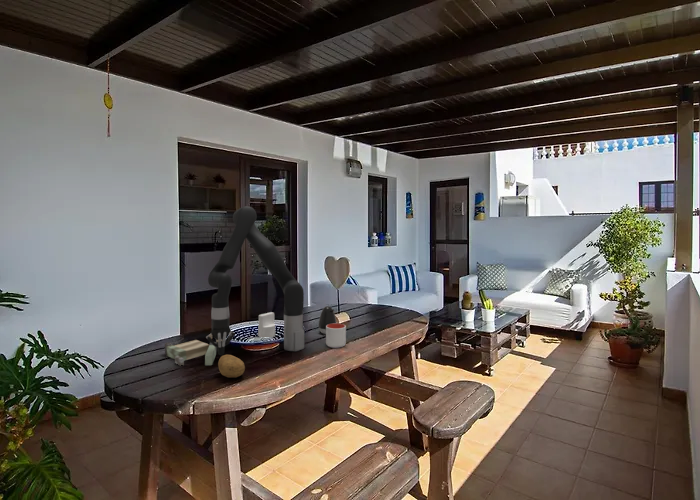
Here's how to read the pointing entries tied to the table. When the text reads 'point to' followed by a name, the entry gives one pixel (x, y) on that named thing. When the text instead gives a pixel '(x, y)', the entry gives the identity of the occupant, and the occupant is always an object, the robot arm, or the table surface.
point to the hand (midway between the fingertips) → (221, 354)
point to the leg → (210, 354)
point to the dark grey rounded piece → (326, 318)
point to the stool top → (186, 350)
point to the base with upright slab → (266, 325)
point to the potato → (231, 366)
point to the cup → (335, 335)
